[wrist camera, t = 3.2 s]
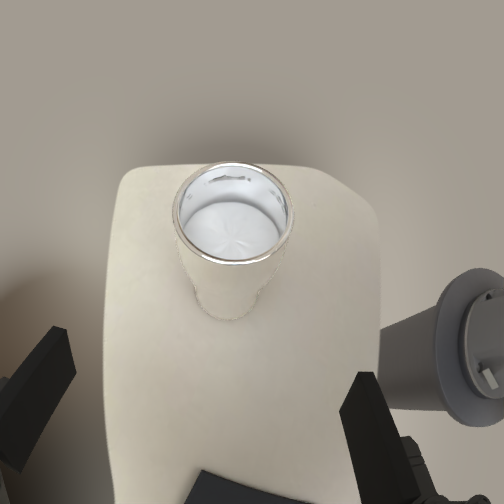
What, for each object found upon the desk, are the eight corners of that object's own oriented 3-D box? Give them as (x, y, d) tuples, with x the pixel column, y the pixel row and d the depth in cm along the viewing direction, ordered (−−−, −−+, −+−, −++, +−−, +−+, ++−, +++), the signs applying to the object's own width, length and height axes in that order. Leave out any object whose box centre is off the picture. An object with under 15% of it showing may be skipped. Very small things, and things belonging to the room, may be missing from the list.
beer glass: (256, 331, 29) (290, 282, 15) (183, 316, 29) (151, 253, 15) (267, 264, 32) (304, 171, 18) (200, 250, 32) (189, 149, 18)
